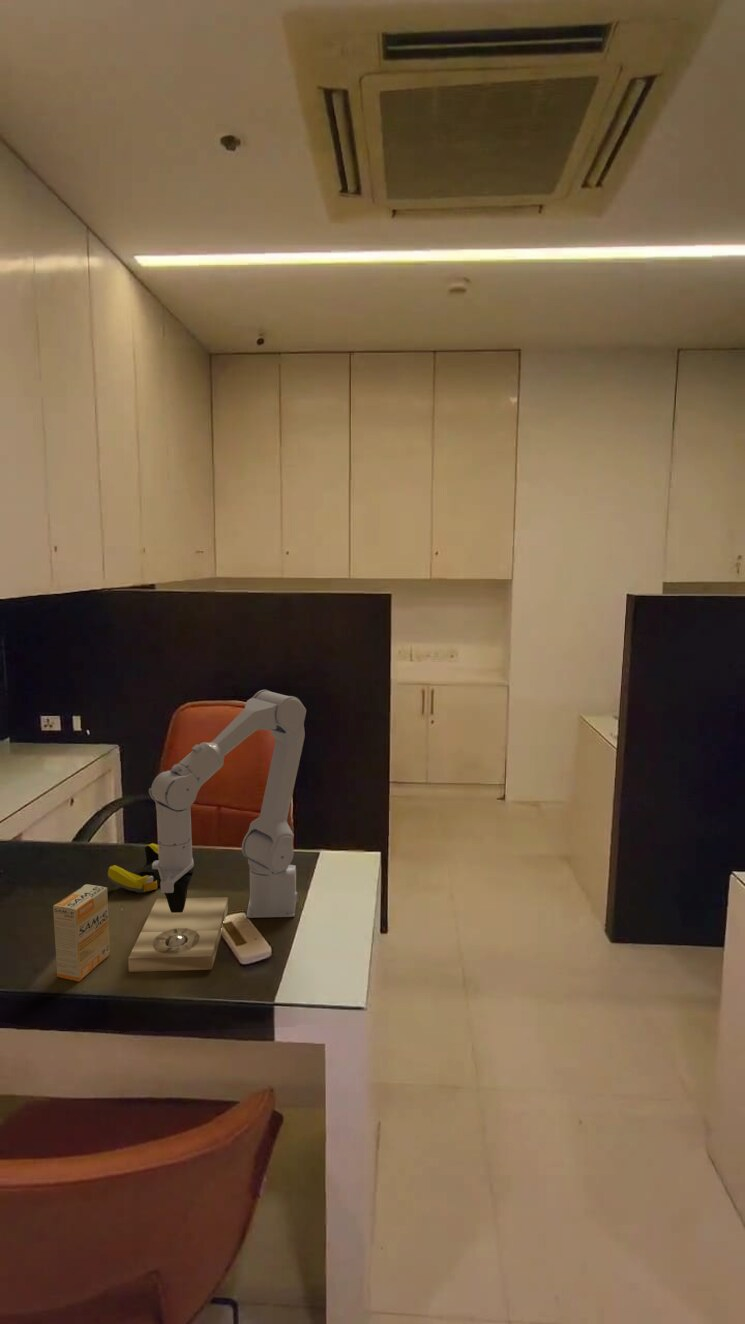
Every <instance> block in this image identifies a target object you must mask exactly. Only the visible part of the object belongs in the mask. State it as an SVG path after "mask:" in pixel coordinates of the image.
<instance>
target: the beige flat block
mask: <svg viewBox="0 0 745 1324" xmlns="http://www.w3.org/2000/svg"><path fill="white" fill-rule="evenodd" d="M228 911H229V897H227V896H226V897H225V896H224V897H223V896H220V897H186V902H185V907H184V910H183V912H180V913H171V911H170V908H169V905H168V901H167V898H156V900H155V902H154V904H153V906H152V908H151V911H150V913H149V914H148V916H147V919H146V921H145V923H144V925H143V926H142V929H141V931H140V932H139V934H138V937H137V939H136V941H135V943H134V946H133V948H132V949H131V952H130V954H129V955H128V958H127V959H128V972H129V973H130V972H135V973H136V972H166V971H201V970H202V971H204V970H206V971H207V970H213V967H214V963H215V960H216V955H217V952H218V948H219V945H220V941H221V937H222V934H221V928H222V924H223V921H224V919H225V917H226V918H227V915H228ZM225 920H226V919H225ZM174 935H182V936H184V937H185V939H186V942H187V943H185V944H184V945H182V946H179V947H169V946H168V942H169V940H170V939H171V937H173V936H174Z"/></svg>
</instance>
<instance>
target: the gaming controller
mask: <svg viewBox="0 0 745 1324" xmlns="http://www.w3.org/2000/svg"><path fill="white" fill-rule="evenodd" d="M144 856H145V865H144V866H142V867H141V868H140V869H138V870H136V871H135V872H130V871H129V870H126V869H124V868H122V867H120V866H118V865H116V864H114V865H111V866H109V867H108V871H107V879H108V880H109V881H110V882H111V883H112V884H113V885H115V886H117V887H119V888H123V889H124V890H127V891H132V892H136V893H137V894H144V893H147V892H151V891H153V890H158V888H159V887H160V886H159V885H158V877H159V871H158V869H152V864H153V862H154V861H156V860H159V855H158V844H156V843H153V842H152V843H150V844H147V845H145V846H144Z"/></svg>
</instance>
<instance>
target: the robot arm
mask: <svg viewBox="0 0 745 1324" xmlns="http://www.w3.org/2000/svg"><path fill="white" fill-rule="evenodd" d="M306 714H307V709H306V707H305V706H304V704H303V703H302V701H301V700H300V699H299V698H298V697H296V696H293V695H285V694H282V693H277V692H273V691H270V690H268V689H262V690H259V691H257V692H256V693H255V694H254V695H253V696H252V697H251V698H249V699H248V700H246V703H245V706H244V708H243V710H242V711H241V712H240V713H238V715H237V716H236V717H234V719H233V720H231V722H230V723H229V724H228V725H227V726H226V727H225V728H224V729H223V730H222V731H221V732H220V733H219V734H218V735H217V736H216V737H215V738H214V739H213V740H212V741H211V742H204V741H203V742H200V743H199V744H195V745H193V747H191V750H192V751H190V753H188V754H187V755H186V756H185V757H184V758H183V759H182V760H180V761H179V762H178V763H175V764H174V765H173V766H172V767H171V769H170V770H166V771H162V772H161V773H159V774H157V776H156V777H155V778H154V780H153V781H152V784H151V787H150V788H149V789H148V793H149V797H150V798H151V799H152V800H153V801H154V802H155V810H156V827H157V845H158V855H159V860H156V861H154V862H153V864H152V869H158V871H159V877H158V885H159V887H160V894H164V896H165V899H167V901H168V905H169V908H170V911H171V913H180V912H183V910H184V907H185V902H186V898H187V895H188V888H189V886H190V885H189V884H190V881H191V879H192V877H193V874H194V872H195V868H194V865H195V864H194V863H195V862H194V858H193V840H192V838H193V837H192V816H191V815H192V813H191V810H192V809H191V806H192V805H193V804H194V803H195V801H196V799H197V797H198V796H197V795H198V793H199V791H200V790H201V787H202V786H203V785H204V784H205V783H206V782H207V781H208V780H209V779H210V778H211V777H212V776H214V775H215V774H216V773H217V772H218V771H220V769H221V768H222V767H223V766H224V764H225V761H224V760H225V756H227V754H228V753H230V752H231V751H232V750H233V749H235V748H236V747H237V746H238V745H240V744H241V743H242V742H243V741H245V740H246V739H247V738H249V737H250V736H251V735H252V734H253V733H254V732H256V731H263V730H264V731H265V730H267V731H269V733H270V734H272V737H273V738H274V739H275V743H274V748H273V753H272V757H271V762H270V765H269V769H268V770H269V771H268V775H267V776H268V777H267V780H266V785H265V789H264V794H263V799H262V803H261V808H260V812H259V816H258V817H257V818H255V819H253V821H251V822H250V824H249V827H248V830H247V833H246V834H245V836H244V838H243V840H242V842H241V851H242V855H243V856H244V857H246V858H247V864H248V865H249V900H248V904H247V910H246V915H245V916H247V917H248V918H247V917H246V918H247V919H254V918H256V919H258V918H292V917H295V915H296V903H297V902H298V891H297V866H296V865H294V864H291V863H292V861H293V858H294V853H295V852H294V845H293V843H294V836H295V834H294V833H293V831H292V829H291V827H290V825H289V823H288V816H289V812H290V809H291V808H290V807H291V803H292V798H293V795H294V789H295V784H296V779H297V775H298V770H299V766H300V760H301V756H302V753H303V747H304V741H305V738H306V736H305V735H306V733H305V726H304V725H305V720H306Z"/></svg>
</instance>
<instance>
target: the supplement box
mask: <svg viewBox="0 0 745 1324" xmlns="http://www.w3.org/2000/svg"><path fill="white" fill-rule="evenodd" d="M108 903H109V902H108V887H105V886H101V885H95V884H87V883H86V884H84V885H83V886H81V887H80V888H78V889H76V890H75V891H73V892H72V893H70V894H69V895H68V896H66V897H64V898H63V899H61V900H60V901H58V902H57V903H55V904H54V905H53V906H52V909H53V910H52V911H53V926H54V929H53V930H54V942H55V943H54V944H55V945H54V946H55V958H56V959H55V961H56V976H57V977H58V978H60V979H65V980H70V981H75V982H78V983H79V982H81V981H82V980H83V979H84V978H85V977H86V976H87V975H88V974H90V972H92V971H93V970H94V969H95V968H97V967H98V965H99V964H101V963H102V962H103V961H105V960H106V959H107V958H108V957H110V954H111V952H110V950H111V949H110V928H109V926H110V925H109V924H110V923H109V922H110V921H109V906H108Z"/></svg>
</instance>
